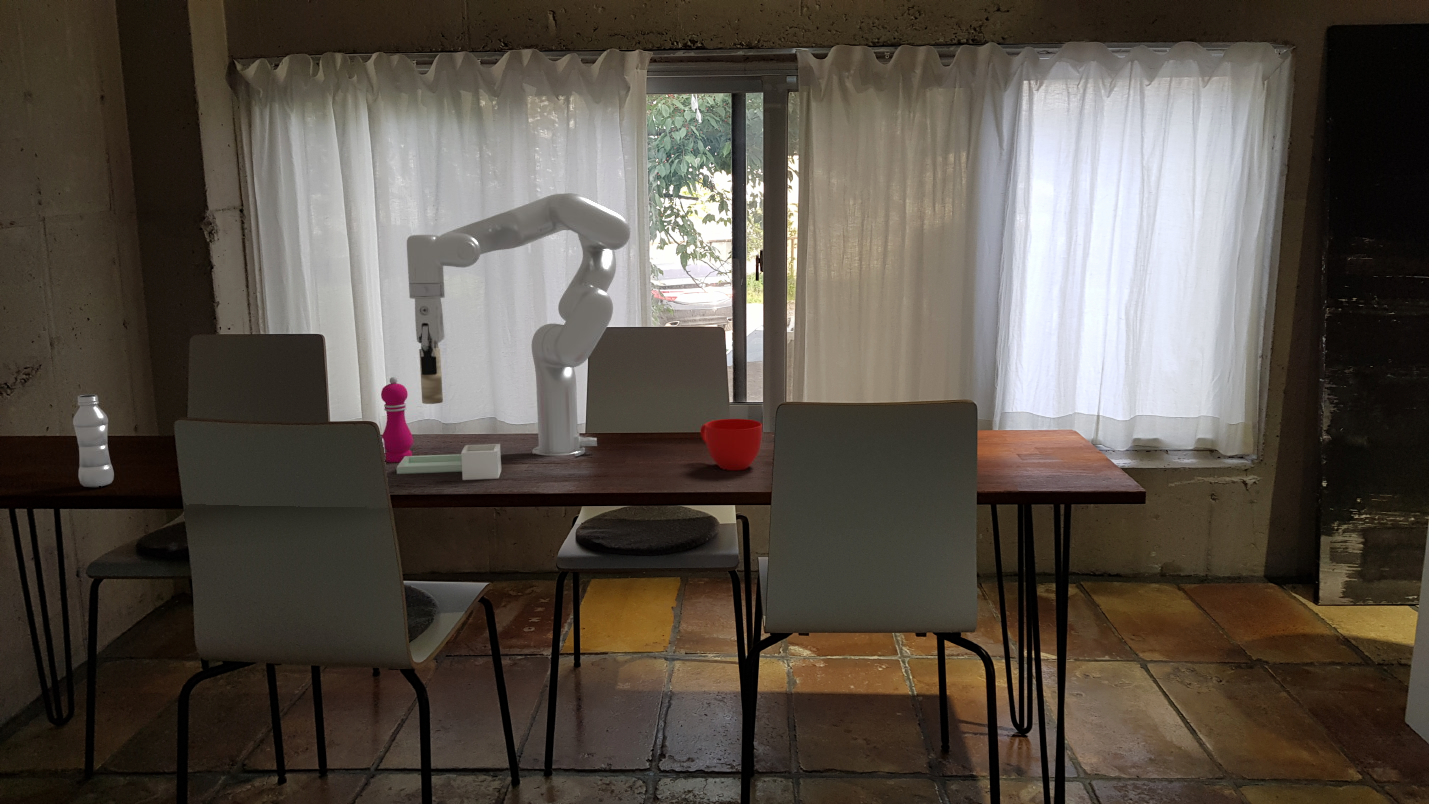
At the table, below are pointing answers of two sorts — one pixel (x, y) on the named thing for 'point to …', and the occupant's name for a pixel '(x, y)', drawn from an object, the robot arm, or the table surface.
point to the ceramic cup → (733, 442)
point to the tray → (430, 464)
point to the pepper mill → (396, 422)
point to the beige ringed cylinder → (432, 383)
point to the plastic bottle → (92, 443)
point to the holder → (481, 461)
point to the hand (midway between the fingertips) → (431, 372)
